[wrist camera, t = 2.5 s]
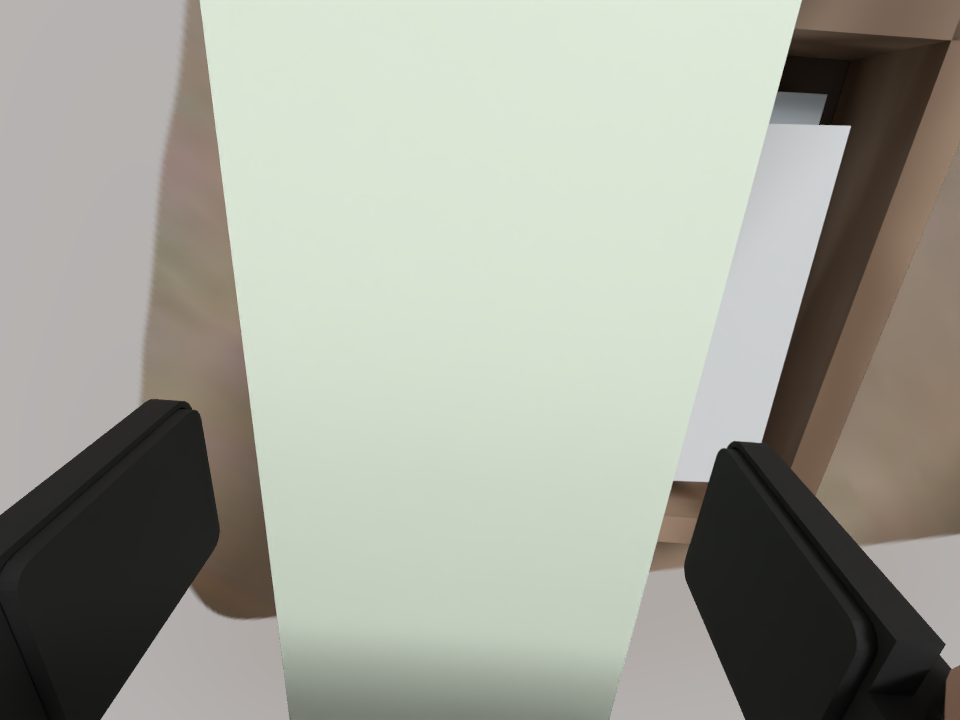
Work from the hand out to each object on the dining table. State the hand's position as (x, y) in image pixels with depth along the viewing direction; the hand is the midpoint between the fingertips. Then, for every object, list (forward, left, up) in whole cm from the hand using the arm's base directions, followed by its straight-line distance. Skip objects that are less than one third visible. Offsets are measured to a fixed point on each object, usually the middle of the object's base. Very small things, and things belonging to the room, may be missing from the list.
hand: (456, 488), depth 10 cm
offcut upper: (-9, 0, -14) cm, 17 cm away
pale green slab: (0, 0, -16) cm, 16 cm away
